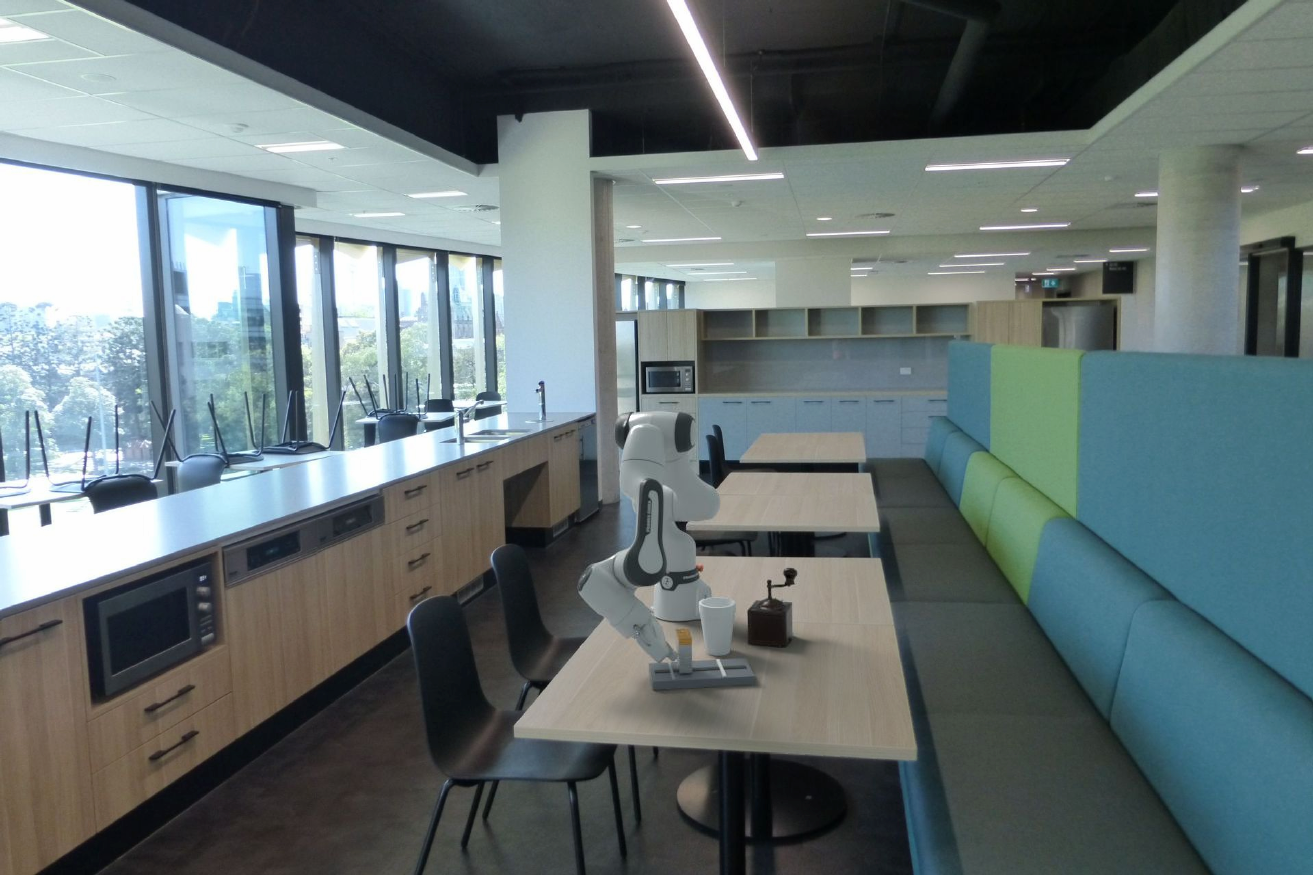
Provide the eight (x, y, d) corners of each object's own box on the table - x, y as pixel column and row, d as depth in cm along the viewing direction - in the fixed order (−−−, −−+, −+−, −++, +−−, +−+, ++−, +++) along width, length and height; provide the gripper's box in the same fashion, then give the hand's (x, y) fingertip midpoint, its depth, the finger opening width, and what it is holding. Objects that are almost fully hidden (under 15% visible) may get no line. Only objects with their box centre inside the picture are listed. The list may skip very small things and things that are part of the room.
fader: (679, 674, 212) (679, 638, 211) (676, 663, 219) (675, 629, 218) (692, 673, 212) (691, 637, 211) (688, 662, 219) (688, 628, 218)
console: (652, 689, 209) (652, 680, 209) (648, 671, 221) (648, 662, 221) (754, 684, 211) (754, 674, 211) (745, 665, 223) (745, 656, 223)
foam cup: (706, 659, 228) (705, 609, 227) (694, 647, 237) (694, 599, 235) (741, 655, 230) (740, 605, 229) (728, 643, 239) (728, 595, 238)
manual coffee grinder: (788, 648, 235) (787, 581, 233) (746, 644, 238) (745, 578, 236) (799, 629, 249) (799, 566, 247) (760, 626, 253) (759, 563, 251)
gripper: (645, 623, 203) (689, 663, 205) (639, 597, 223) (679, 634, 225) (626, 644, 203) (670, 683, 205) (622, 616, 223) (662, 652, 225)
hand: (675, 657), depth 215 cm, fingers closed, pressing on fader
